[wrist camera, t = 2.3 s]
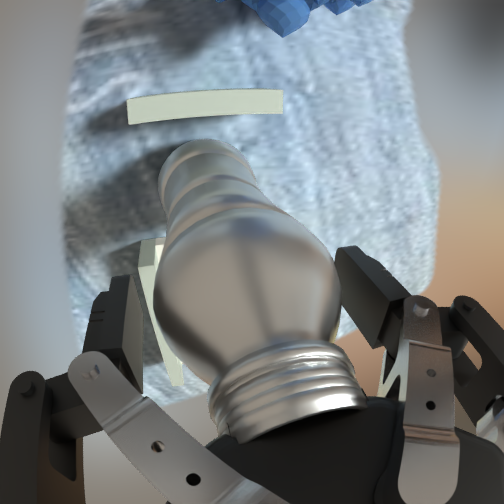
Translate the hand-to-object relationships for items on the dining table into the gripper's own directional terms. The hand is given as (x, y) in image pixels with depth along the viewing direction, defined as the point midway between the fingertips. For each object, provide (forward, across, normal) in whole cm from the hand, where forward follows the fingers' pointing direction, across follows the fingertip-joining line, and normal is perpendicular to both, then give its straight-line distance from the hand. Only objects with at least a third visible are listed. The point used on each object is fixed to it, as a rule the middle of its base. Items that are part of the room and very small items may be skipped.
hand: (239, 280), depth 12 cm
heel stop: (+13, 0, -6) cm, 15 cm away
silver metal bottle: (+13, 0, 0) cm, 13 cm away
